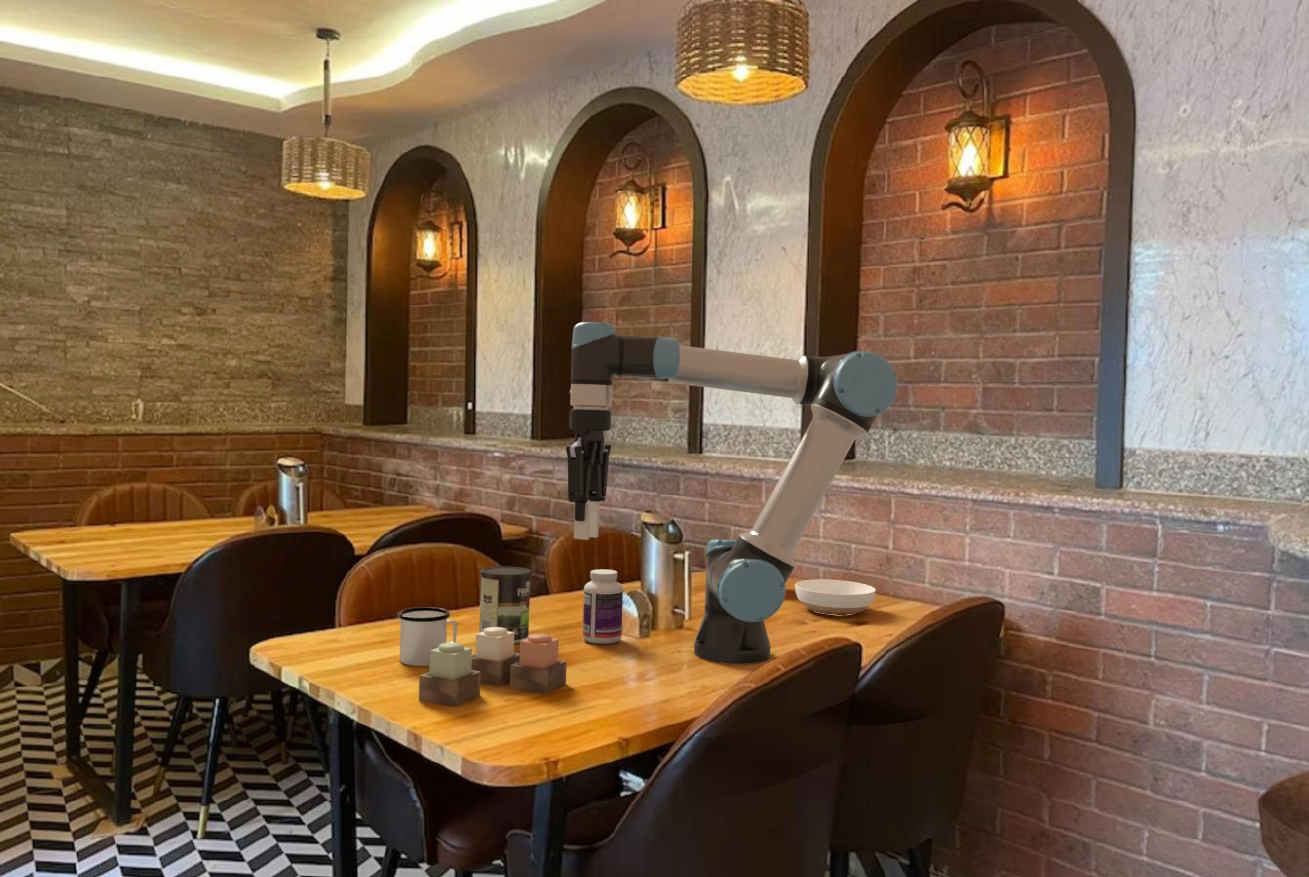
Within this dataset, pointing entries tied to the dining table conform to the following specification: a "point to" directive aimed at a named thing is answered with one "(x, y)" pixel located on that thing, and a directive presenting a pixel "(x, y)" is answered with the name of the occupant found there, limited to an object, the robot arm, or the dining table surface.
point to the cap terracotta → (539, 651)
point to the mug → (423, 633)
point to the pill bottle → (602, 608)
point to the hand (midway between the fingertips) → (586, 537)
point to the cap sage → (450, 661)
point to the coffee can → (505, 600)
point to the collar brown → (538, 677)
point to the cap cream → (494, 644)
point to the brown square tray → (449, 689)
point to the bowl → (835, 596)
